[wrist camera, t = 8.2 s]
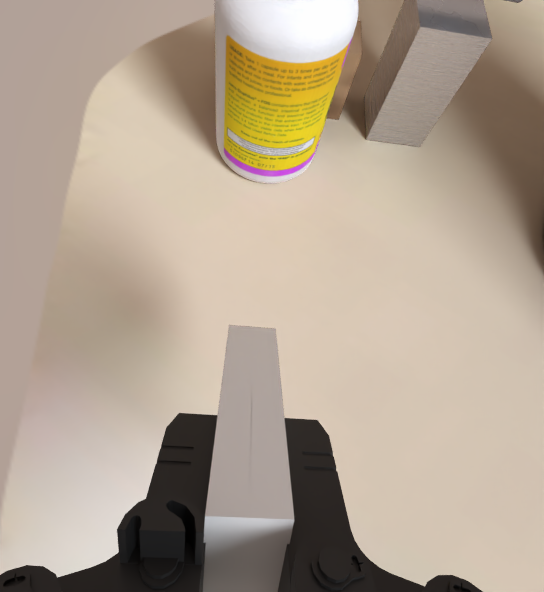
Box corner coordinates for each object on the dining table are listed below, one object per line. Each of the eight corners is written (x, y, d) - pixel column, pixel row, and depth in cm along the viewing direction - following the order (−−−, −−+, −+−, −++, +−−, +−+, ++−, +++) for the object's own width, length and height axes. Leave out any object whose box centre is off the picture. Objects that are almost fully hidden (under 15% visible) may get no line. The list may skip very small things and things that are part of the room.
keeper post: (415, 105, 29) (480, -10, 22) (420, 146, 28) (492, 38, 20) (364, 97, 29) (413, -22, 22) (366, 139, 28) (420, 26, 20)
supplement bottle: (326, 180, 26) (418, -47, 14) (229, 195, 24) (239, -42, 13) (297, 104, 28) (354, -149, 16) (206, 115, 26) (195, -154, 15)
